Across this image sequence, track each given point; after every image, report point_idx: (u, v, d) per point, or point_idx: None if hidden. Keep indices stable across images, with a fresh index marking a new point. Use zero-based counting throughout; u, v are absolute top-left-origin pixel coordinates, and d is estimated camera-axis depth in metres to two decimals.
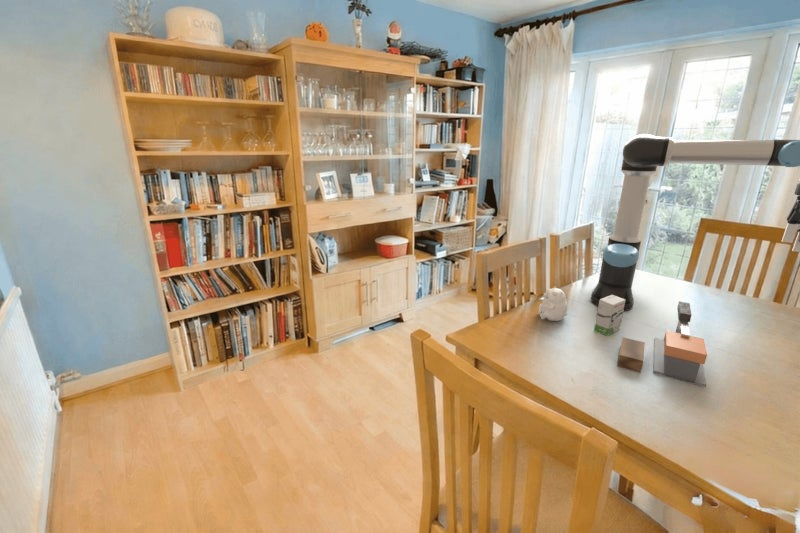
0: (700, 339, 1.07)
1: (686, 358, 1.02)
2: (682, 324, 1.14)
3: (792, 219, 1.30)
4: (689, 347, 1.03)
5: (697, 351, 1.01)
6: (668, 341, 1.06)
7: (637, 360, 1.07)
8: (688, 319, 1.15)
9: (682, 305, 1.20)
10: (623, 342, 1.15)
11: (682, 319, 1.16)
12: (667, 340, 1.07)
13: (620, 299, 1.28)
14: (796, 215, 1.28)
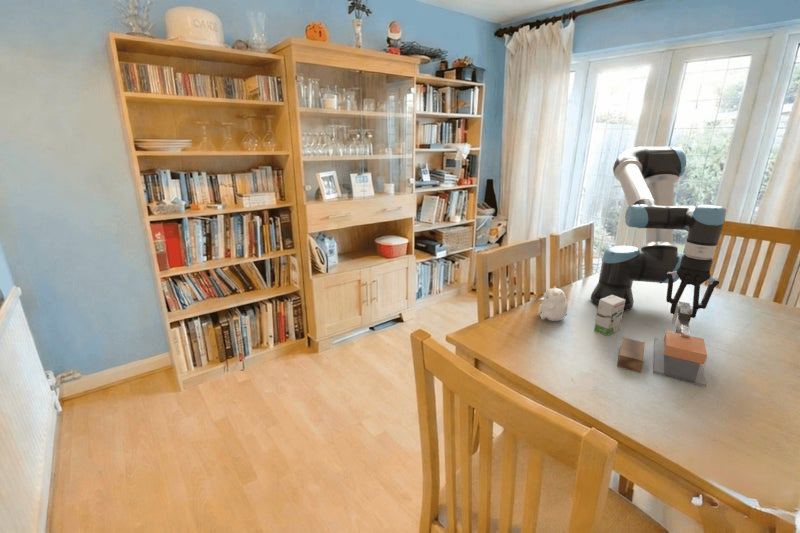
0: (700, 339, 1.07)
1: (686, 358, 1.02)
2: (682, 324, 1.14)
3: (693, 299, 1.19)
4: (689, 347, 1.03)
5: (697, 351, 1.01)
6: (668, 341, 1.06)
7: (637, 360, 1.07)
8: (688, 319, 1.15)
9: (682, 305, 1.20)
10: (623, 342, 1.15)
11: (682, 319, 1.16)
12: (667, 340, 1.07)
13: (620, 299, 1.28)
14: None
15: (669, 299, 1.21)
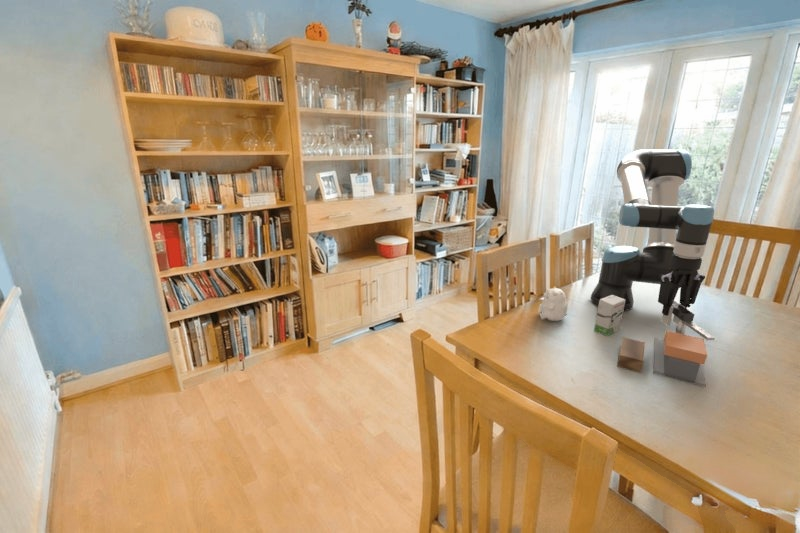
0: (700, 339, 1.07)
1: (686, 358, 1.02)
2: (693, 326, 1.13)
3: (681, 297, 1.21)
4: (689, 347, 1.03)
5: (697, 351, 1.01)
6: (668, 341, 1.06)
7: (637, 360, 1.07)
8: (691, 319, 1.15)
9: (674, 305, 1.21)
10: (623, 342, 1.15)
11: (686, 319, 1.15)
12: (667, 340, 1.07)
13: (620, 299, 1.28)
14: (682, 291, 1.20)
15: (665, 302, 1.19)
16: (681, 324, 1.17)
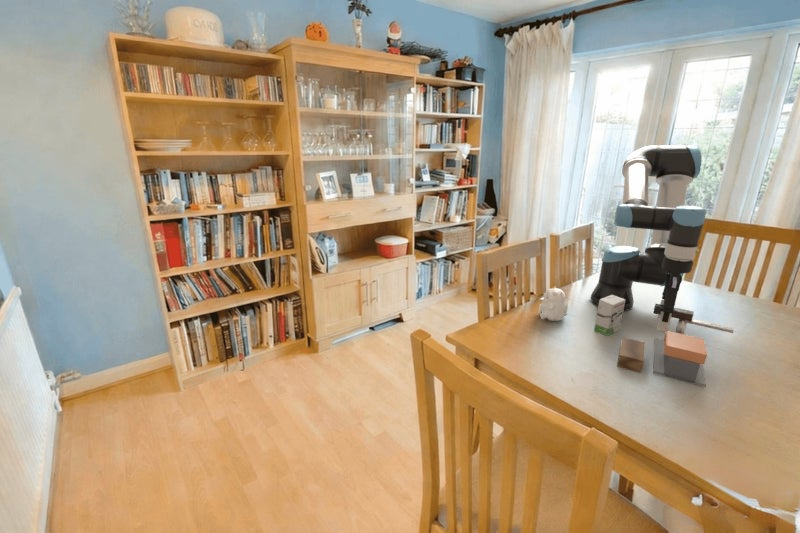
0: (700, 339, 1.07)
1: (686, 358, 1.02)
2: (704, 323, 1.14)
3: (665, 294, 1.22)
4: (689, 347, 1.03)
5: (697, 351, 1.01)
6: (668, 341, 1.06)
7: (637, 360, 1.07)
8: None
9: None
10: (623, 342, 1.15)
11: (691, 319, 1.16)
12: (667, 340, 1.07)
13: (620, 299, 1.28)
14: None
15: None
16: (685, 324, 1.17)
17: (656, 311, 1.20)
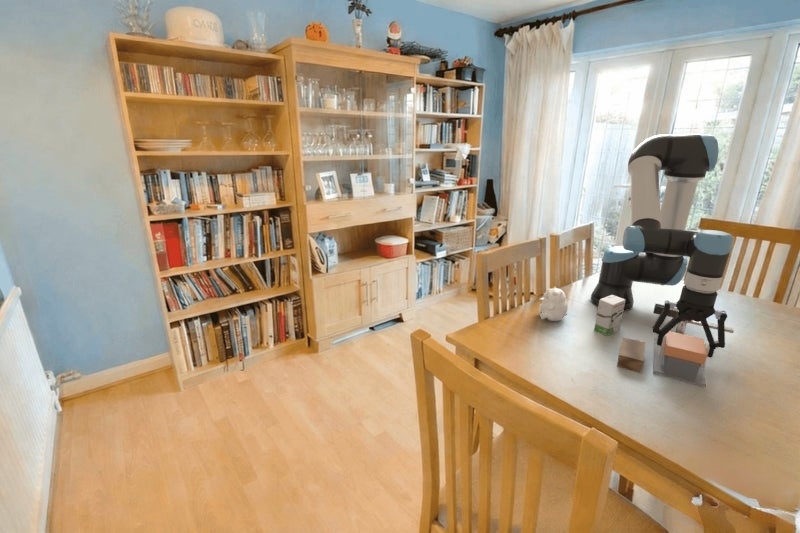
0: (700, 339, 1.07)
1: (686, 358, 1.02)
2: None
3: None
4: (689, 347, 1.03)
5: (697, 351, 1.01)
6: (668, 341, 1.06)
7: (637, 360, 1.07)
8: None
9: None
10: (623, 342, 1.15)
11: None
12: (667, 340, 1.07)
13: (620, 299, 1.28)
14: None
15: (656, 330, 1.08)
16: (685, 324, 1.17)
17: (656, 311, 1.20)
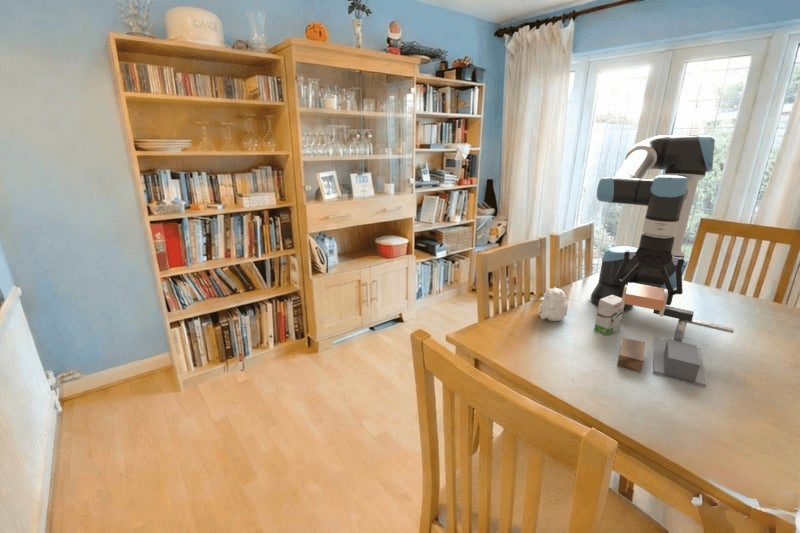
0: (660, 289, 1.07)
1: (645, 305, 1.03)
2: (704, 323, 1.14)
3: None
4: (648, 295, 1.03)
5: (655, 298, 1.01)
6: (628, 290, 1.06)
7: (637, 360, 1.07)
8: None
9: (668, 308, 1.19)
10: (623, 342, 1.15)
11: (691, 319, 1.16)
12: (627, 290, 1.07)
13: (620, 299, 1.28)
14: None
15: (617, 280, 1.08)
16: (685, 324, 1.17)
17: (656, 311, 1.20)
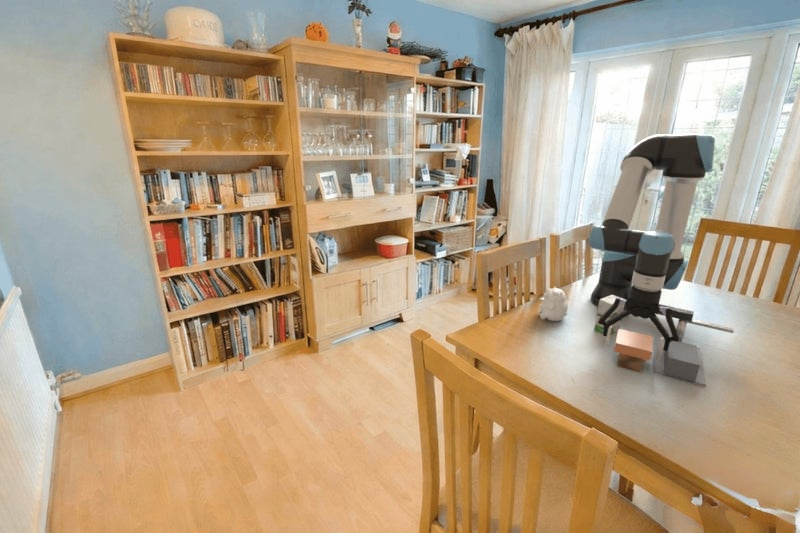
0: (649, 337, 1.12)
1: (634, 354, 1.08)
2: (704, 323, 1.14)
3: None
4: (637, 344, 1.08)
5: (643, 348, 1.07)
6: (618, 339, 1.12)
7: (637, 360, 1.07)
8: None
9: None
10: None
11: (691, 319, 1.16)
12: (617, 338, 1.12)
13: None
14: None
15: (601, 321, 1.14)
16: (685, 324, 1.17)
17: None
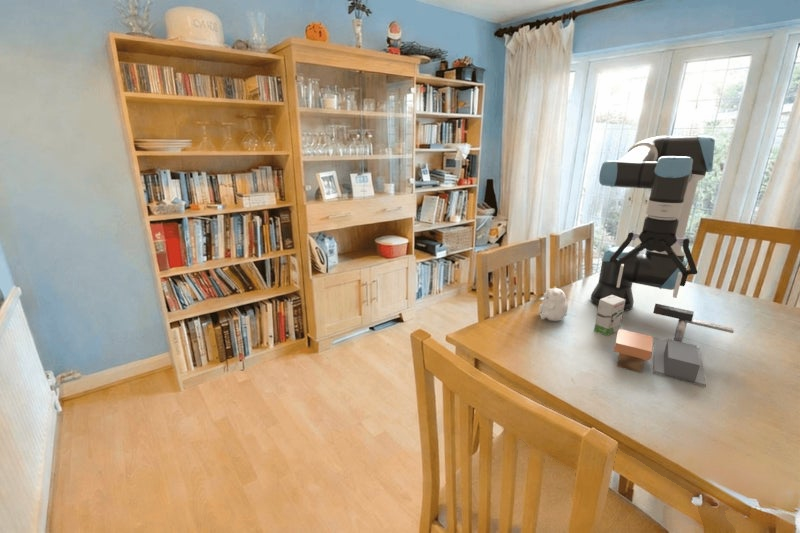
0: (649, 337, 1.12)
1: (634, 354, 1.08)
2: (704, 323, 1.14)
3: None
4: (637, 344, 1.08)
5: (643, 348, 1.07)
6: (618, 339, 1.12)
7: (637, 360, 1.07)
8: None
9: (668, 308, 1.19)
10: None
11: (691, 319, 1.16)
12: (617, 338, 1.12)
13: (620, 299, 1.28)
14: None
15: (613, 259, 1.07)
16: (685, 324, 1.17)
17: (656, 311, 1.20)
